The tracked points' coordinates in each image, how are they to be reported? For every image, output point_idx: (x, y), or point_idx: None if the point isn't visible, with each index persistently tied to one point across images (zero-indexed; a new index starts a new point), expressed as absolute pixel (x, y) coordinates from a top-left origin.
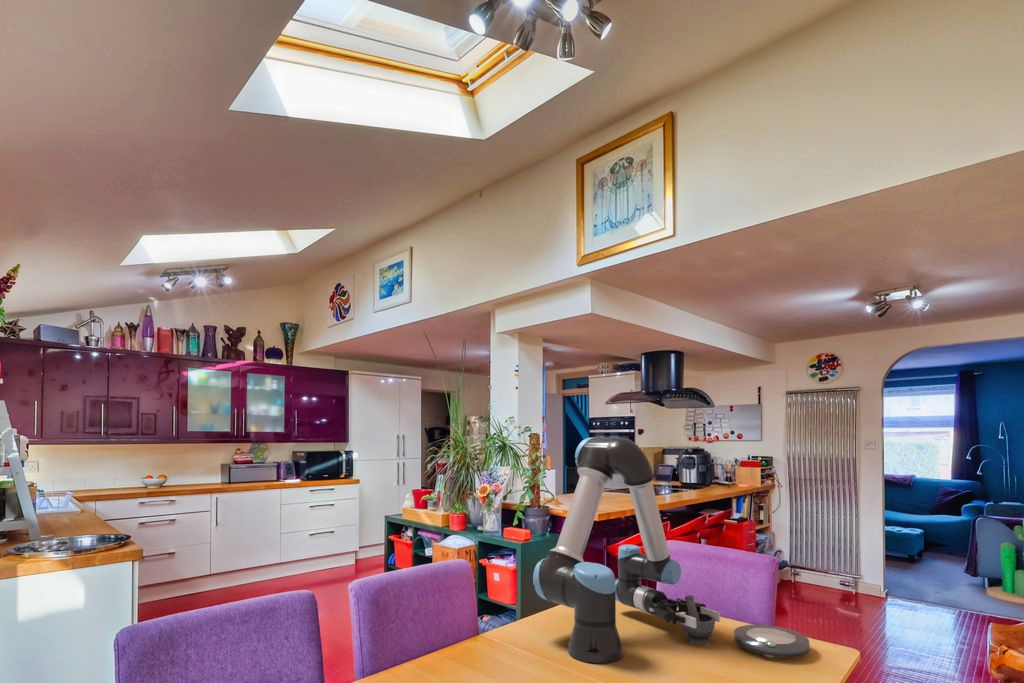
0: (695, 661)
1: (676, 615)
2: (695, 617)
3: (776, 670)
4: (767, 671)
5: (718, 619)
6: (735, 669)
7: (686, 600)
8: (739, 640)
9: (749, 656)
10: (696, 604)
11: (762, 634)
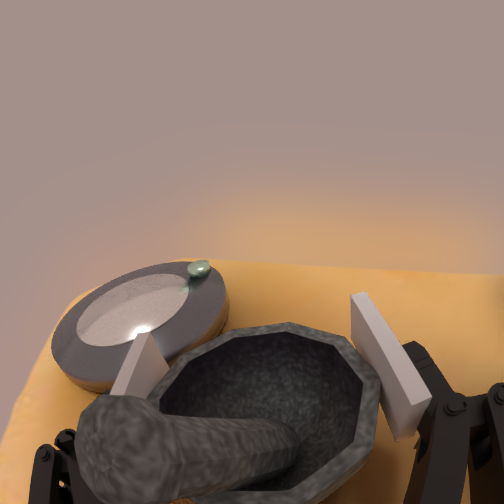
0: (412, 319)
1: (438, 394)
2: (253, 421)
3: (255, 271)
4: (275, 270)
5: (163, 359)
6: (334, 281)
7: (182, 479)
8: (214, 320)
9: (234, 320)
10: (52, 499)
11: (133, 313)
